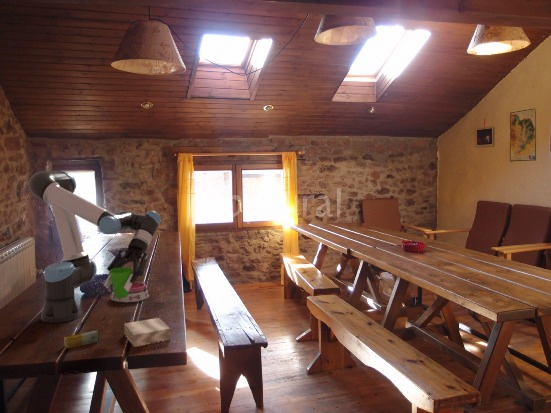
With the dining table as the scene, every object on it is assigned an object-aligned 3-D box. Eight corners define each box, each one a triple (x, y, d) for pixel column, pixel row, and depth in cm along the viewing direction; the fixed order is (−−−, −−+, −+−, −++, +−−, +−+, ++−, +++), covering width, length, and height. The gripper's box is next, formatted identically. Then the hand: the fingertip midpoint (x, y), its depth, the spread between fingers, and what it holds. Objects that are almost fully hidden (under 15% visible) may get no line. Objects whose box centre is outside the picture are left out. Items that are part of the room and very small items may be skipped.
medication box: (97, 339, 180) (97, 329, 180) (99, 341, 178) (99, 331, 178) (64, 346, 173) (63, 336, 172) (65, 349, 171) (65, 338, 170)
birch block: (134, 348, 173) (133, 335, 173) (124, 335, 185) (124, 323, 185) (170, 340, 181) (170, 328, 180) (158, 329, 193) (158, 317, 192)
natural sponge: (133, 286, 255) (133, 268, 254) (124, 283, 261) (124, 266, 260) (147, 283, 261) (147, 266, 260) (139, 280, 267) (139, 263, 266)
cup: (137, 295, 192) (137, 269, 191) (119, 301, 184) (119, 273, 183) (122, 292, 196) (122, 266, 195) (104, 297, 189) (104, 270, 188)
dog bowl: (116, 292, 243) (116, 280, 243) (152, 293, 244) (152, 280, 243) (105, 303, 225) (105, 289, 224) (144, 303, 226) (144, 290, 225)
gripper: (165, 249, 199) (142, 295, 186) (123, 245, 207) (98, 289, 193) (157, 239, 194) (134, 286, 180) (115, 235, 201) (89, 280, 188)
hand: (116, 288), depth 187 cm, fingers closed on cup, 9 cm apart
